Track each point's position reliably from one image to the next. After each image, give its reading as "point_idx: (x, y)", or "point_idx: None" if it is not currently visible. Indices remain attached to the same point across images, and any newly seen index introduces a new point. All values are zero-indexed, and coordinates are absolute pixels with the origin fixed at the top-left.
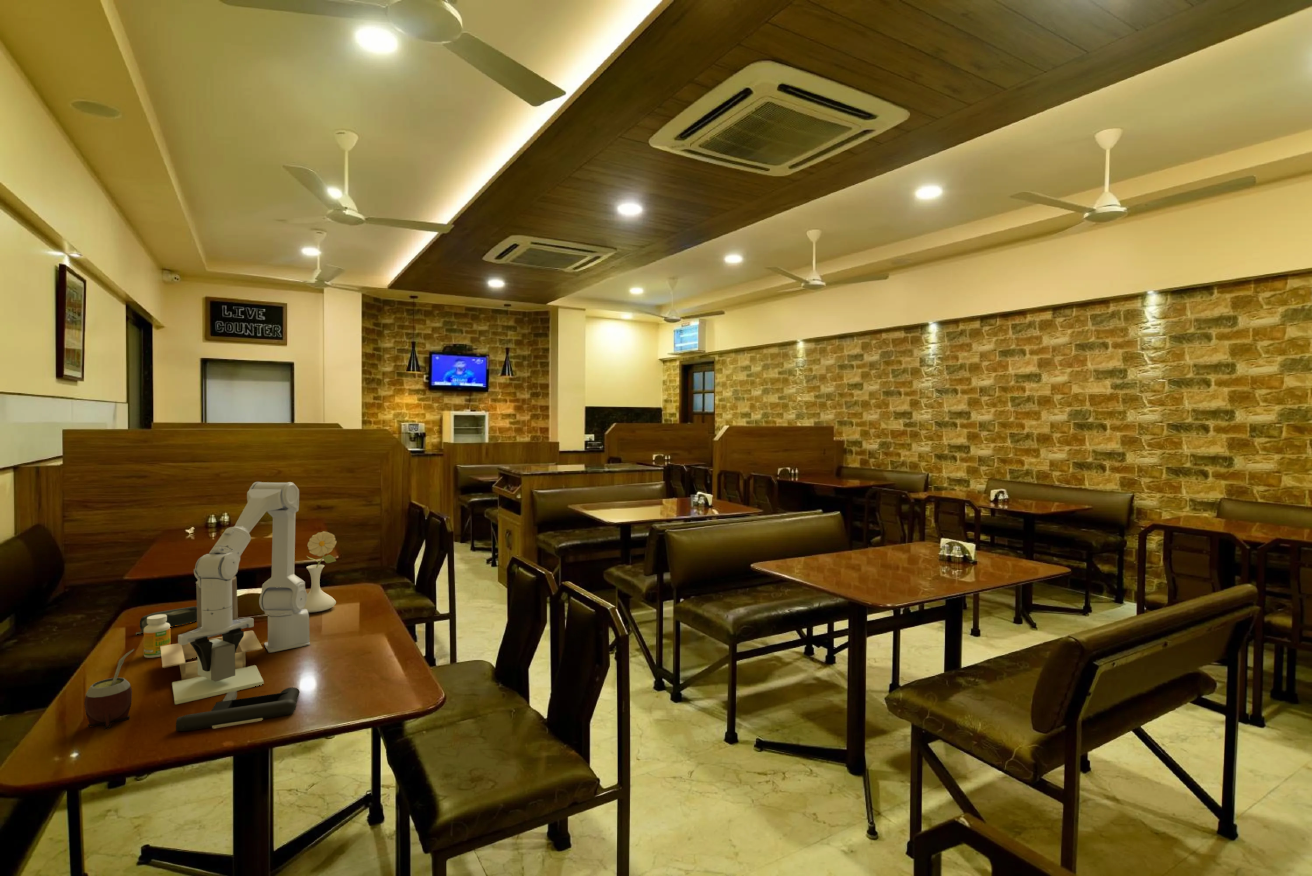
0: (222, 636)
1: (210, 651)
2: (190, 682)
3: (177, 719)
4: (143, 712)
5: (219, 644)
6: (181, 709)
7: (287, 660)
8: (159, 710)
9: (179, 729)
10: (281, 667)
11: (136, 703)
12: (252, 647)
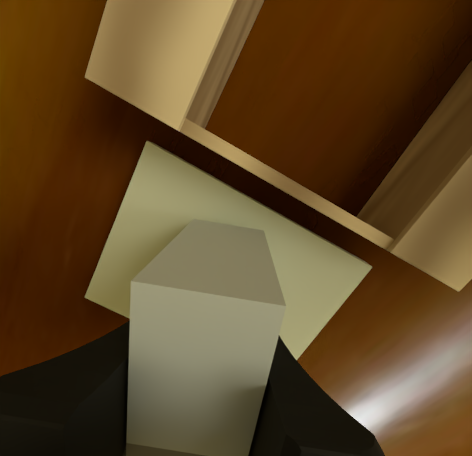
0: (275, 412)
1: (126, 435)
2: (177, 207)
3: None
4: (25, 263)
5: (199, 431)
6: (90, 328)
7: (455, 293)
8: (55, 287)
9: None
10: (394, 324)
11: (31, 182)
12: (453, 246)
